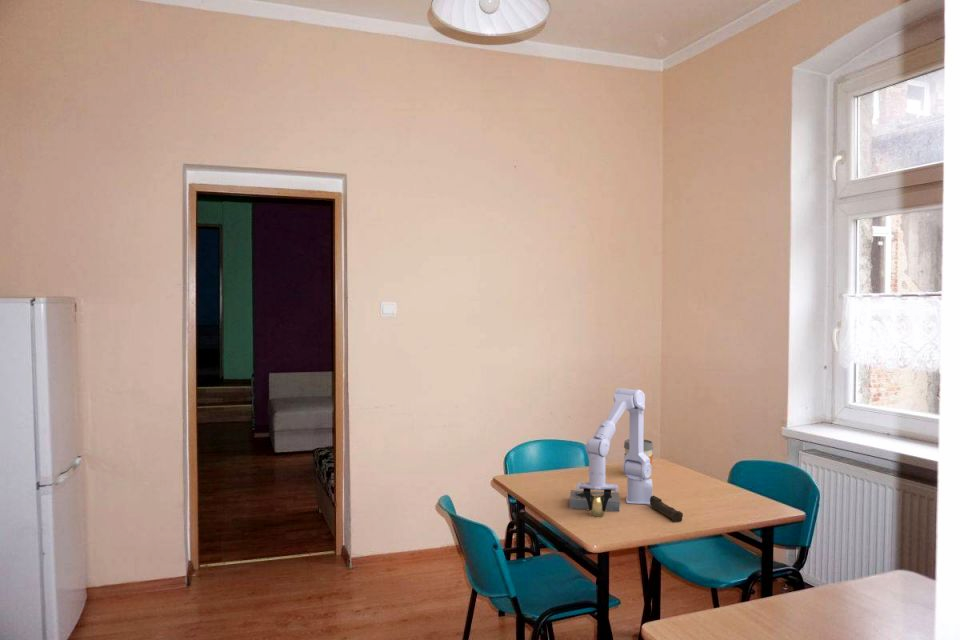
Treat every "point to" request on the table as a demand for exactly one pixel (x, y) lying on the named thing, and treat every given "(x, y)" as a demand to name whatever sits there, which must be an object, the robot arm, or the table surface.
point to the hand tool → (665, 509)
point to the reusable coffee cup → (647, 448)
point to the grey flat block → (581, 502)
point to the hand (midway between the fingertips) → (597, 510)
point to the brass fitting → (597, 505)
